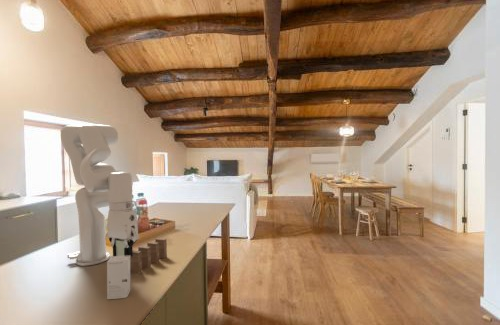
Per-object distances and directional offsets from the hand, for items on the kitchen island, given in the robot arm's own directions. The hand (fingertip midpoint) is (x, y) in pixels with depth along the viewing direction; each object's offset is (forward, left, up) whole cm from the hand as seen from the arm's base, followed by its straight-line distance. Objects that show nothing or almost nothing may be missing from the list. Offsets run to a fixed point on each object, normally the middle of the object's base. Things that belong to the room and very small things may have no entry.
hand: (122, 256), depth 93 cm
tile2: (+7, +8, -9) cm, 14 cm away
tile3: (+11, +12, -9) cm, 18 cm away
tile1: (+4, +5, -9) cm, 10 cm away
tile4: (+15, +15, -9) cm, 23 cm away
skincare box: (-1, -11, -9) cm, 14 cm away
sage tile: (0, 0, -2) cm, 2 cm away
